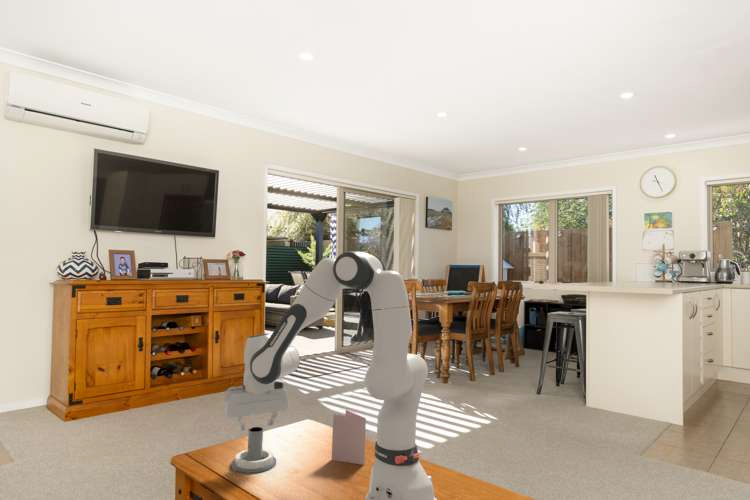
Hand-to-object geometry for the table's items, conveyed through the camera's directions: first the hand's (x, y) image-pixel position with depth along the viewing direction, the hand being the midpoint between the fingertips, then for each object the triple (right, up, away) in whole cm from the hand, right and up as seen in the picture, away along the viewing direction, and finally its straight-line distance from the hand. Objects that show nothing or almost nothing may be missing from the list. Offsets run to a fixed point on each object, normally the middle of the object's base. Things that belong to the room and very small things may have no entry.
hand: (256, 427), depth 155 cm
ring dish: (-1, -12, 0) cm, 12 cm away
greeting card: (+29, -13, +5) cm, 32 cm away
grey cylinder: (-1, -11, 0) cm, 11 cm away
